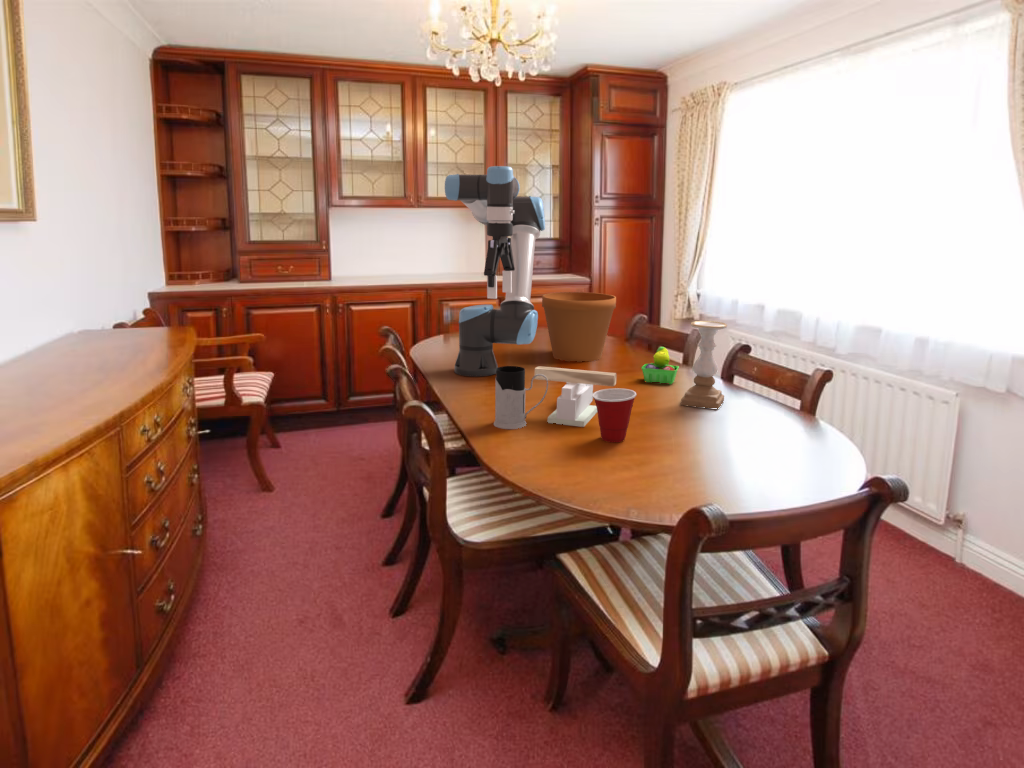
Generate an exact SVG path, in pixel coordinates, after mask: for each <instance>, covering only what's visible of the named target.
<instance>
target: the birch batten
mask: <svg viewBox="0 0 1024 768" xmlns="http://www.w3.org/2000/svg"><path fill="white" fill-rule="evenodd" d="M537 374H542V375H544V376H546V378H547V379H548V382H549V381H550V382H551V381H553V382H560V383H561V382H562V383H566V382H570V383H581V384H592V385H593V386H604V387H614V386H616V384H617V372H606V371H595V370H586V369H585V370H584V369H571V368H565V367H564V368H563V367H562V368H561V367H553V366H552V367H551V366H539V365H538V366H536V367H535V368H534V376H535V375H537ZM546 378H545V377H543V376H540V375H539V376H536V377H535V378H534V380H540V381H541V380H542V381H546Z"/></svg>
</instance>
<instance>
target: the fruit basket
mask: <svg viewBox="0 0 1024 768" xmlns="http://www.w3.org/2000/svg"><path fill="white" fill-rule="evenodd" d="M653 361H654V362H648V363H644V365H642V366H641V370H642V376H643V380H644V382H645V381H646V382H645V383H652V382H660V383H659V384H661V383H669V384H668V385H672V384H673V383H674V382H675V379H676V376H677V374H678V370H679V369H680V366H679V365H671V364H669V363H670V354H669V350H668V349H667V348H666V347H664V346H659V347H658V348H657V350H656V352H655V354H654V355H653Z"/></svg>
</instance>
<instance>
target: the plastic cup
mask: <svg viewBox="0 0 1024 768" xmlns="http://www.w3.org/2000/svg"><path fill="white" fill-rule="evenodd" d="M592 397H593V400H594V403H595V406H596V407H597V419H598V425H599V431H600V437H601V440H602V441H604V442H606V441H607V442H606V443H615V442H616V443H622V442H624V441H625V439H626V437H627V432H628V428H629V423H630V418H631V415H632V414H631V413H632V409H633V406H634V402H635V399H636V397H637V392H636V391H634V390H633V389H629V388H620V387H619V388H618V387H617V388H616V387H615V388H604V389H600V390H597V391H593V394H592ZM623 440H624V441H623ZM621 441H622V442H621Z"/></svg>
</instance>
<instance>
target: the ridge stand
mask: <svg viewBox="0 0 1024 768" xmlns="http://www.w3.org/2000/svg"><path fill="white" fill-rule="evenodd" d="M596 414H598V412H597V407H596V405H591V403H590V386H586V384H581V383H570V382H568V383H567V384H564V386H563V387H561V394H560V395H559V396H558V397H557V398H556V409H555V410H554V411H553V412H552V413H550V414H549V415H548V416H547V421H546V423H547V422H548V424H553V423H556V425H562V424H563V426H571V427H581V428H584V427H586V425H587V424H588V423H589V422H590V421H591V419H593V417H594V416H595V415H596Z"/></svg>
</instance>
